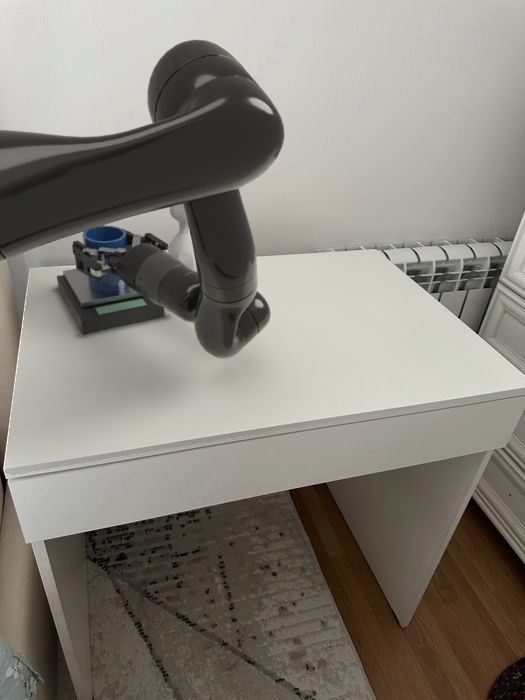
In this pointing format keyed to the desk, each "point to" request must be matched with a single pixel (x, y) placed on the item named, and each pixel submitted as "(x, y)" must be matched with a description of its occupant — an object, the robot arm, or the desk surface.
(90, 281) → the cup
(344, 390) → the desk surface
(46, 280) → the desk surface
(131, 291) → the scale pan
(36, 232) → the robot arm
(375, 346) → the desk surface
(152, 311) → the scale
